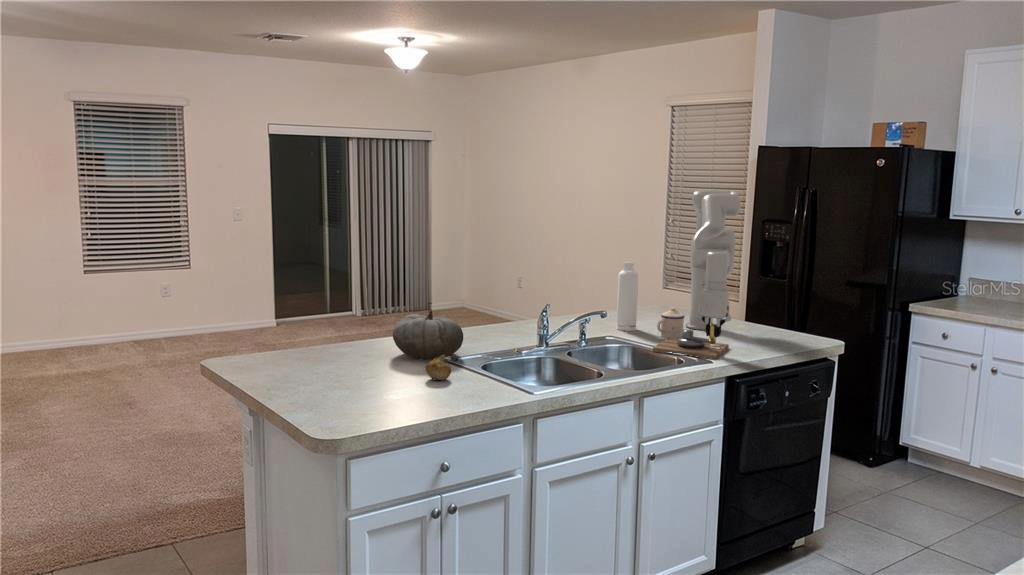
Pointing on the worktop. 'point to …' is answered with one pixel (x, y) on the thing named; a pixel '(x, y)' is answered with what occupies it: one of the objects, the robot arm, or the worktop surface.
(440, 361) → the onion
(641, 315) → the worktop surface
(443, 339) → the gourd
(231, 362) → the worktop surface
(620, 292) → the bottle
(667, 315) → the teacup with lid
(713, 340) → the capstan
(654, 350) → the level stand
